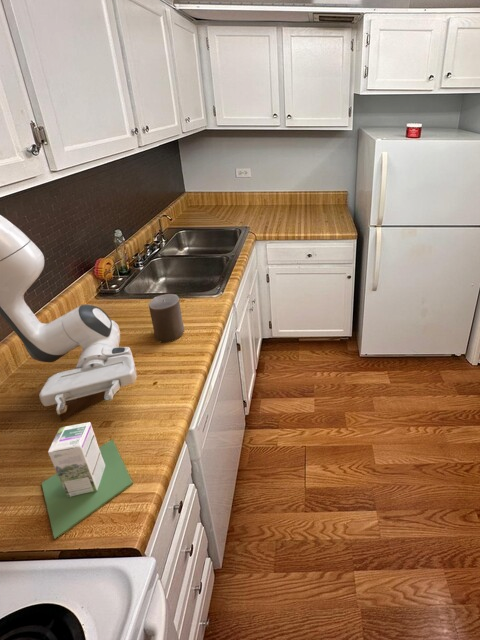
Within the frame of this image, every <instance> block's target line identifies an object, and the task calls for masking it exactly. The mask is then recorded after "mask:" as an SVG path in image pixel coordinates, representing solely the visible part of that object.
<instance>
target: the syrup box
mask: <svg viewBox="0 0 480 640" xmlns="http://www.w3.org/2000/svg"><path fill="white" fill-rule="evenodd" d="M99 447H100V446H99V444H98V441H97V437H96V435H95V432H94V428H93V426H92V423H91V422H90V421H89V422H88V421H87V422H83V423H77V424H72V425H66V426H62V427H60V428H59V429H58V431H57V433H56V435H55V437H54V438H53V440H52V441H51V445H50V447H49V449H48V451H47V453H48V456H49V458H50V461H51V463H52V465H53V467H54V469H55V472H56V473H57V474H58V476H59V479H60V481H61V483H62V486H63V488H64V490H65V492H66V495H67V497H68V498H69V497H74V496H78V495H82V494H86V493H91V492H95V491H97V490H98V487H99V484H100V481H101V478H102V475H103V472H104V469H105V463H104V460H103V458H102V455H101V452H100V449H99Z"/></svg>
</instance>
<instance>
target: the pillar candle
mask: <svg viewBox="0 0 480 640" xmlns="http://www.w3.org/2000/svg"><path fill="white" fill-rule="evenodd" d="M148 307H149V308H148V310H149V313H150V320H151V324H152V328H153V333H154V338H155V339H156V341H157V340H158V341H157V342H159V341H161V342H160V343H170V342H169V341H171V342H173V341H172V340H174V341H176V340H178V339H180V338H181V337H182V336H183V335H184V333H185V326H184V325H185V324H184V320H183V315H182V314H183V313H182V309H181V308H182V307H181V303H180V297H179V296H178V295H177V294H174V293H166V294H161V295H158V296H155V297H153V298H152V299H150V301H149V302H148ZM183 332H184V333H183ZM182 334H183V335H182ZM181 335H182V336H181ZM180 336H181V337H180ZM177 338H178V339H177ZM175 339H176V340H175Z"/></svg>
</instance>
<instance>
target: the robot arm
mask: <svg viewBox="0 0 480 640" xmlns="http://www.w3.org/2000/svg"><path fill="white" fill-rule="evenodd" d="M44 268H45V255H44V253H43V251H41V249H40V248H39V247H38V246H37V245H36V243H35V242H33V241H32V239H30V237H28V235H26V233H24V232H23V231H22V230H21V229H20V228H19V227H17V226H16V225H15V224H13V223H12V222H11V221H10V220H8V219H7V218H6V217H4V216H3V215H1V214H0V316H1V317H2V318H3V320H4V321H6V323H7V324H8V325H9V327H10V328H11V330H13V332H14V333H15V334H16V335H17V337H18V338H19V339H20V341H21V342H22V344H23V346H24V347H25V350H26V352H27V353H28V355H29V356H30V357H31V359H33V360H35V361H38V362H42V363H55V362H57V361H58V360H59V359H61V358H63V357H64V356H65V355H67V354H68V353H69V352H71V351H73V350H75V349H77V348H79V347H81V349H82V350H81V352H80V354H79V357H78V360H77V363H76V366H75V368H72V369H71V368H70V369H68V370H64V371H59V372H56V373H53V375H51V376H49V377H48V378H47V380H46V382H45V384H44V385H43V387H42V388H41V390H40V392H39V396H38V397H39V401H40V402H41V404H42V405H43V406H44V407H49V406H53V405H55V404H57V408H56V413H57V415H58V416H59V414H62V413H66V410H67V408H68V407H67V405H66V404H67V402H68V401H69V402H70V401H73V400H75V399H77V398H80V397H84V396H88V395H92V394H96V393H99V392H103V391H105V395H104V401H105V402H110V401H113V399H114V396H115V395H116V392H117V391H118V390H120V389H121V387H126V386H130V385H133V384H134V383H135V382H136V381H137V377H138V373H137V368H136V363H135V359H134V356H133V353H132V350H131V348H130V347H129V346H120V344H121V330H120V325H119V324H118V323H117V322H116V321H115V320H112V319H111V317H110V316H109V315H108V314H107V313H106V312H105V310H104V309H102V308H100V307H98V306H96V305H93V304H81V305H79V306H77V307H75V308H73V309H72V310H69V311H68V312H66V313H64V314H63V315H61V316H59V317H57V318H55V319H53V320H51V321H50V322H47V323H45V322H44V323H43V322H42V321H40V320H39V319H38V318H37V316H36V315H35V313H34V311H32V310H31V308H30V306H29V305H28V304H27V303H26V301H25V298H24V296H25V293H26V292H27V291H28V290H29V288H30V287H31V286H32V285H33V284H34V283H35V282H36V280H38V278H39V277H40V275H41V274H42V272H43V270H44ZM107 390H108V391H107ZM117 393H118V392H117Z"/></svg>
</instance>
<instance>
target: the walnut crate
mask: <svg viewBox="0 0 480 640" xmlns="http://www.w3.org/2000/svg"><path fill="white" fill-rule="evenodd" d="M119 390H120V389H119ZM119 390H118V391H117V392H116V393H119ZM107 391H108V390H107ZM116 393H115V394H116ZM104 395H105V391H103V392H99V393H96V394H92V395H88V396H84V397H80V398H76V399H73V400H70V401H69V402H66V405H67V407H68V408H67V410H66V413H62V414H59V415H58V417H59V419H60V421H61V422H65V421H66V420H68V419H69V418H72V417H74V416H75V415H78V414H79V413H81V412H83V411H84V410H87V409H88V408H90V407H92V406H95V405H96V404H98V403H100V402H101V401H103V400H104V401H105V399H104ZM54 405H55V408H56V409H57V404H54Z"/></svg>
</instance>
